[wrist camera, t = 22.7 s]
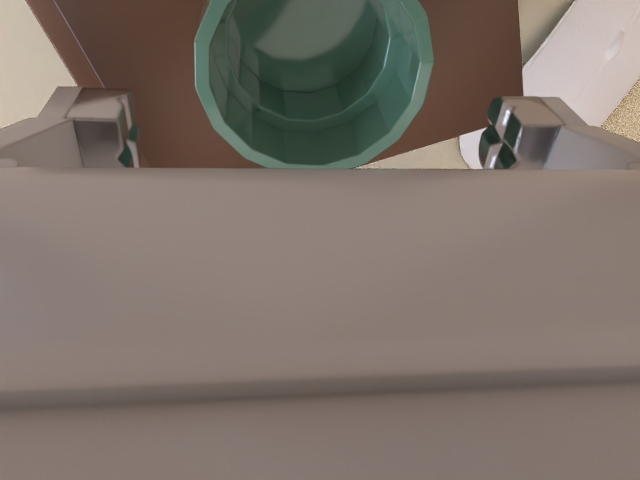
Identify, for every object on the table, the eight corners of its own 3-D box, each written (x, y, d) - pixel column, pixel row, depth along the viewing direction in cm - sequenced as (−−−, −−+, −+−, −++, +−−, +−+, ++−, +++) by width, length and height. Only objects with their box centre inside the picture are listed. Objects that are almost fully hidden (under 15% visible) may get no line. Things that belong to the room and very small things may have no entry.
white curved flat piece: (676, 36, 30) (703, 52, 28) (513, 194, 36) (527, 216, 34) (600, -40, 27) (625, -28, 26) (436, 145, 33) (447, 166, 31)
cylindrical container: (205, 100, 20) (195, 170, 17) (204, -104, 16) (191, -73, 13) (377, 112, 21) (404, 180, 18) (414, -79, 17) (461, -42, 14)
